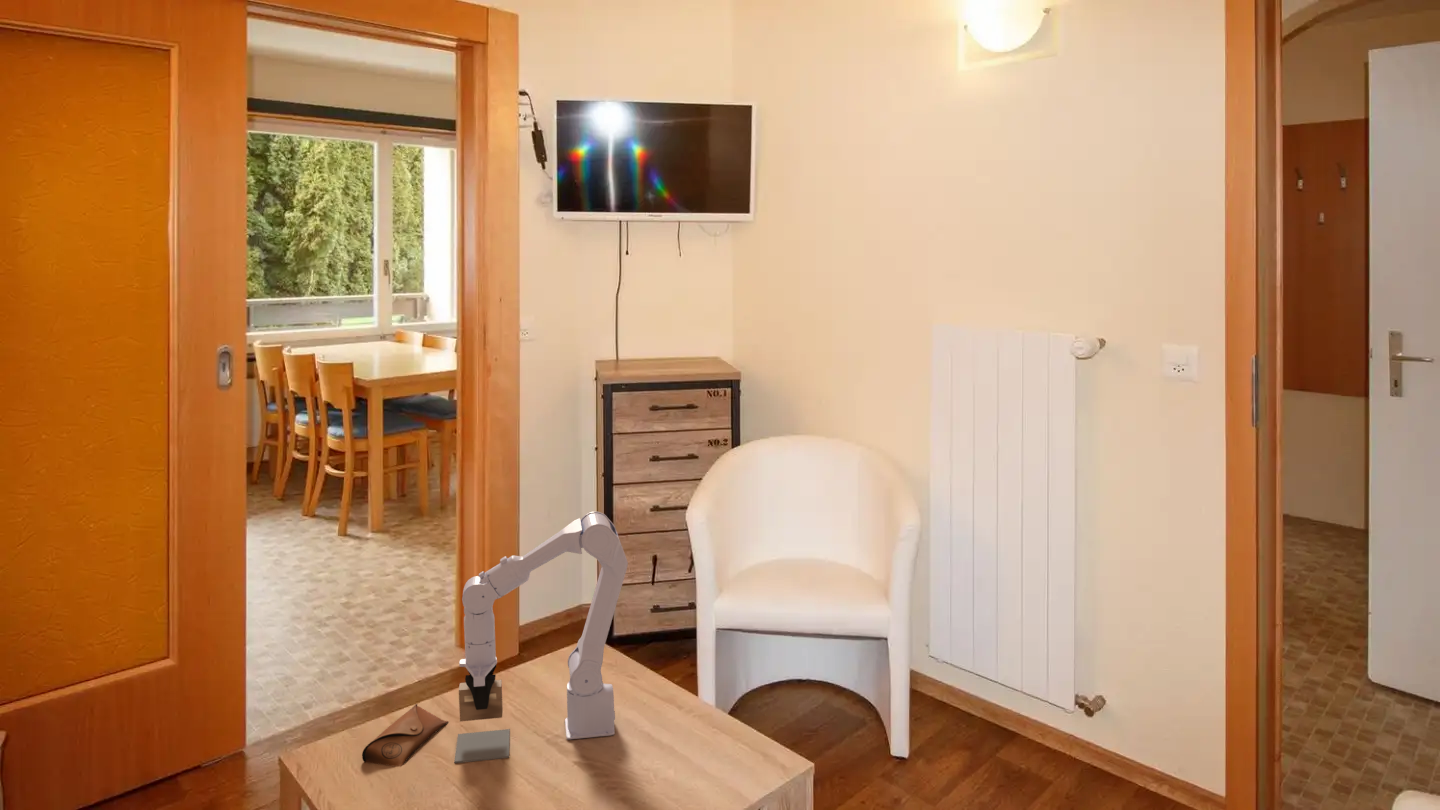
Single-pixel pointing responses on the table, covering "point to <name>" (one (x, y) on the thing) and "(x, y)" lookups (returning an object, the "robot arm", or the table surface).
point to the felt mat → (482, 746)
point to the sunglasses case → (402, 738)
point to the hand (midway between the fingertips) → (482, 704)
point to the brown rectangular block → (492, 711)
